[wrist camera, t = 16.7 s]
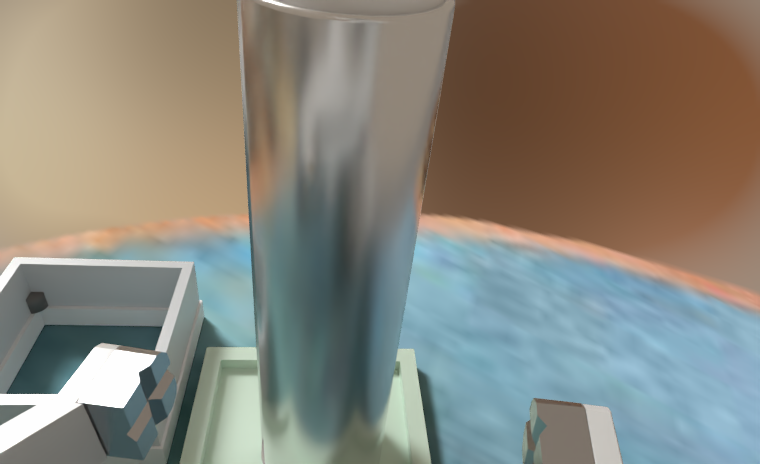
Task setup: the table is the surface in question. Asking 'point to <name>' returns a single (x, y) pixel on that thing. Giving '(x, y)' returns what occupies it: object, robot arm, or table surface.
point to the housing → (99, 319)
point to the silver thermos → (334, 208)
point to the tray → (242, 412)
